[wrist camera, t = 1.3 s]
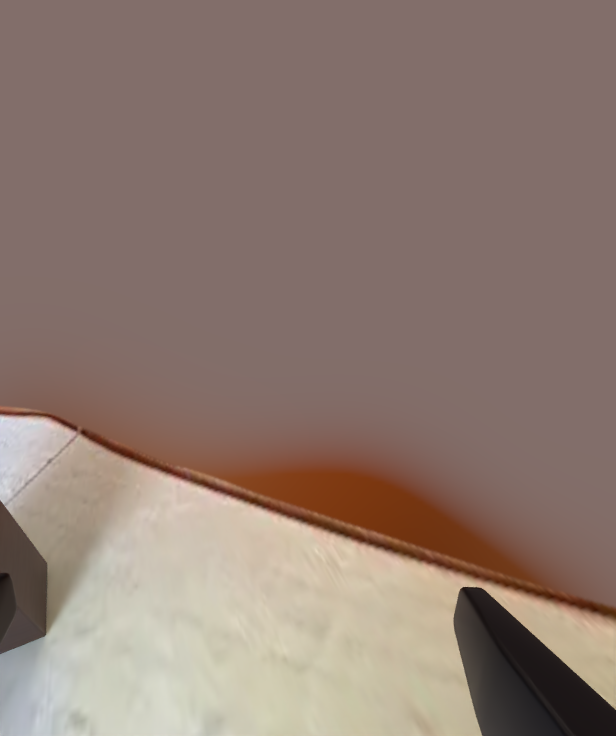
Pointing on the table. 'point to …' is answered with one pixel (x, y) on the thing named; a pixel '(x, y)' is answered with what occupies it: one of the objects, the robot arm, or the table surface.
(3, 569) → the walnut block
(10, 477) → the table surface
